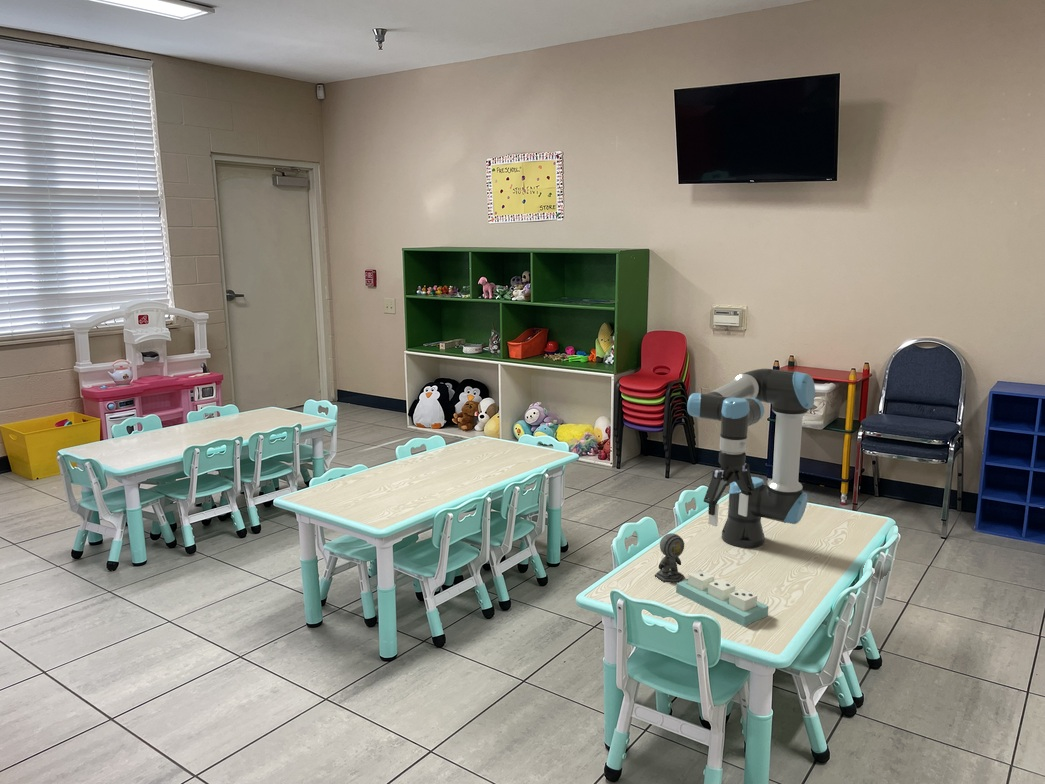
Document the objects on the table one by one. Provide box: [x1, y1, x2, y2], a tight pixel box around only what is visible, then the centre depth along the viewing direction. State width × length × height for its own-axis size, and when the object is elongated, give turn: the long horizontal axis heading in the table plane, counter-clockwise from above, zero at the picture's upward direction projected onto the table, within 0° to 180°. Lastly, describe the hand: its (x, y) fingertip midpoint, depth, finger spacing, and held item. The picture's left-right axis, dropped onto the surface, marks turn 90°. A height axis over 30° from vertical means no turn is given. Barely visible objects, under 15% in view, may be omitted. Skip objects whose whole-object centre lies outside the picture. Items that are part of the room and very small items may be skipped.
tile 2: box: [708, 578, 736, 601], centre depth 235 cm, size 6×6×4 cm
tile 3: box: [729, 588, 758, 612], centre depth 229 cm, size 6×6×4 cm
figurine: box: [654, 532, 685, 584], centre depth 252 cm, size 9×10×15 cm
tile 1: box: [687, 569, 715, 591], centre depth 241 cm, size 6×6×4 cm
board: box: [675, 578, 769, 627], centre depth 236 cm, size 26×11×3 cm, turn 36°
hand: (727, 520), depth 230 cm, fingers open, 13 cm apart
